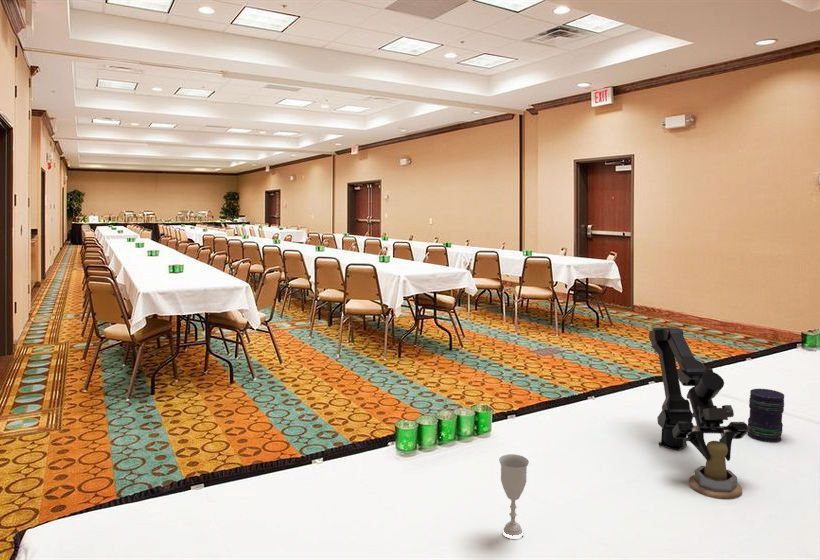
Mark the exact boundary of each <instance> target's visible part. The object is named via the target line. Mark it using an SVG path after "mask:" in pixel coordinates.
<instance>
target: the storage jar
mask: <svg viewBox="0 0 820 560" xmlns="http://www.w3.org/2000/svg"><path fill="white" fill-rule="evenodd" d="M749 393H750V395H749V404H748V407H749V418H748V417H747V418H748V420H747V425H748V428H749V432H748V433H747V436H748V437H749V438H750V439H753V440H755V441H758V442H762V443H771V444H772V443H775V444H776V443H780V442H781V441H782V433H783V427H784V425H783V413H784V411H785V409H784V408H785V394H784V393H783V392H780V391H777V390H773V389H769V388H768V389H767V388H753V389H751V390H750V392H749Z"/></svg>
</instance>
